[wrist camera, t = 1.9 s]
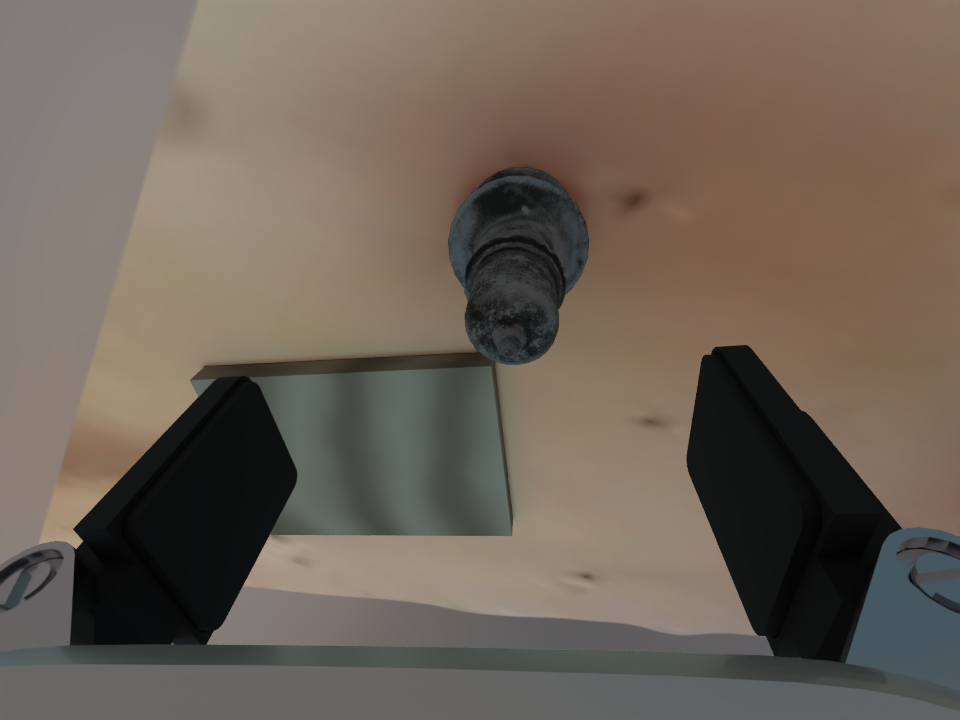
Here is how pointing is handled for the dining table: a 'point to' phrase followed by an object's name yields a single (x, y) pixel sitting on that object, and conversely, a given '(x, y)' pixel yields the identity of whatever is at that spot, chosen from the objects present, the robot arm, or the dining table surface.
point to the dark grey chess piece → (517, 262)
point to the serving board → (387, 444)
